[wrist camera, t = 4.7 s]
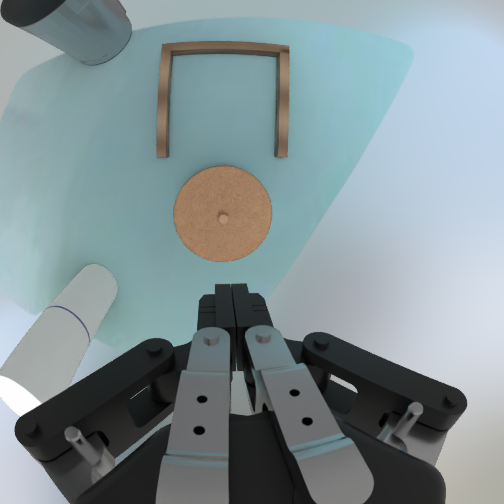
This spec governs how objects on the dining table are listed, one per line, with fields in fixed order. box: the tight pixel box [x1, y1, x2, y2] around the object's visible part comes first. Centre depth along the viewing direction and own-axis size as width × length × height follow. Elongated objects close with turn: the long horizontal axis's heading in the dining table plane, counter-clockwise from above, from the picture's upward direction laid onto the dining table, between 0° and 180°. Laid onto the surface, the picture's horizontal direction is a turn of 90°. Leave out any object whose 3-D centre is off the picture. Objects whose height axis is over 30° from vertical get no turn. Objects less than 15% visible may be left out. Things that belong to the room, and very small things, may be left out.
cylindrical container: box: [0, 264, 118, 416], centre depth 26 cm, size 7×7×25 cm
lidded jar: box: [174, 166, 272, 262], centre depth 32 cm, size 11×11×9 cm
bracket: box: [157, 41, 289, 158], centre depth 30 cm, size 16×16×2 cm
